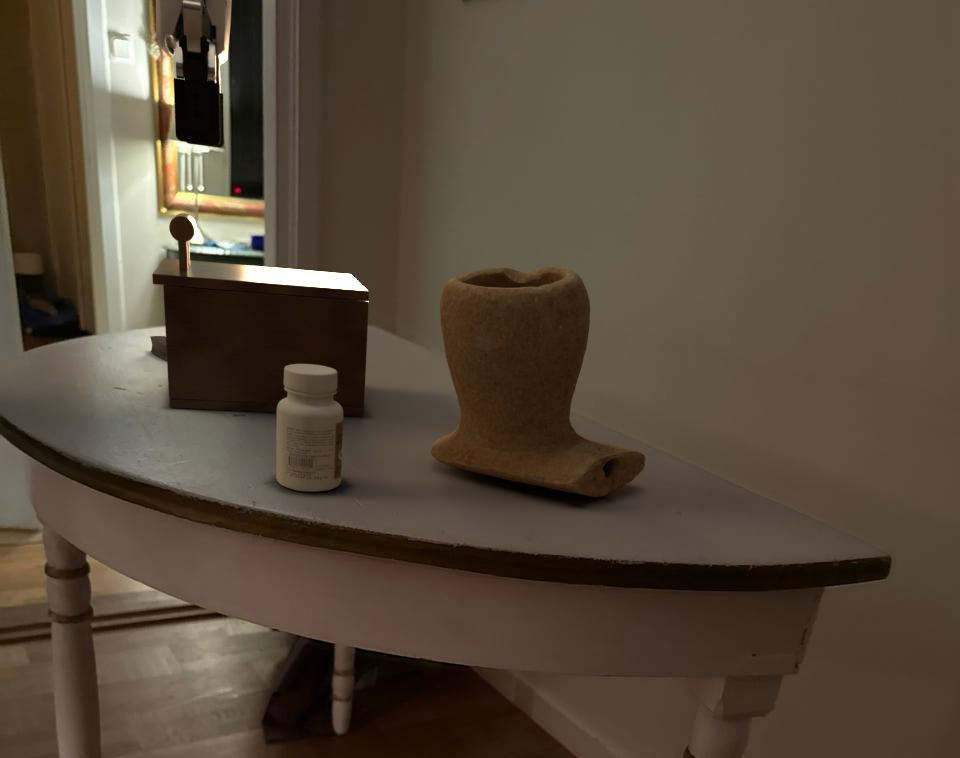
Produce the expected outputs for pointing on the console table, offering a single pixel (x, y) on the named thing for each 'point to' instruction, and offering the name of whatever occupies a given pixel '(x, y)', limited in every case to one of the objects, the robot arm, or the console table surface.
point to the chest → (259, 347)
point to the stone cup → (523, 382)
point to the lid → (248, 273)
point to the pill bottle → (309, 430)
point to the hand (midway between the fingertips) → (201, 144)
